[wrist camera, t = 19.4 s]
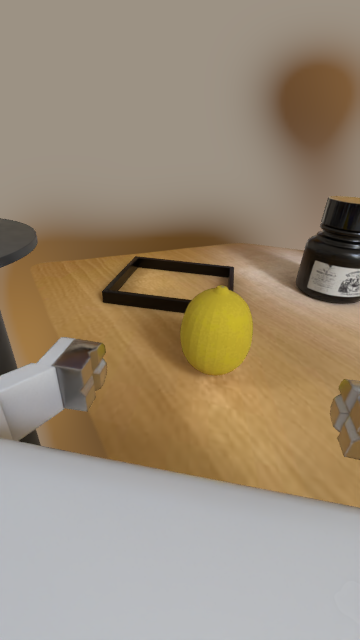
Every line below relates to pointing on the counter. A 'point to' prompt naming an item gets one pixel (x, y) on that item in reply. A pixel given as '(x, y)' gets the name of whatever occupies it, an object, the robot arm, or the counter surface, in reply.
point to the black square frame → (160, 302)
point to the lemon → (216, 331)
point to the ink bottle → (334, 254)
